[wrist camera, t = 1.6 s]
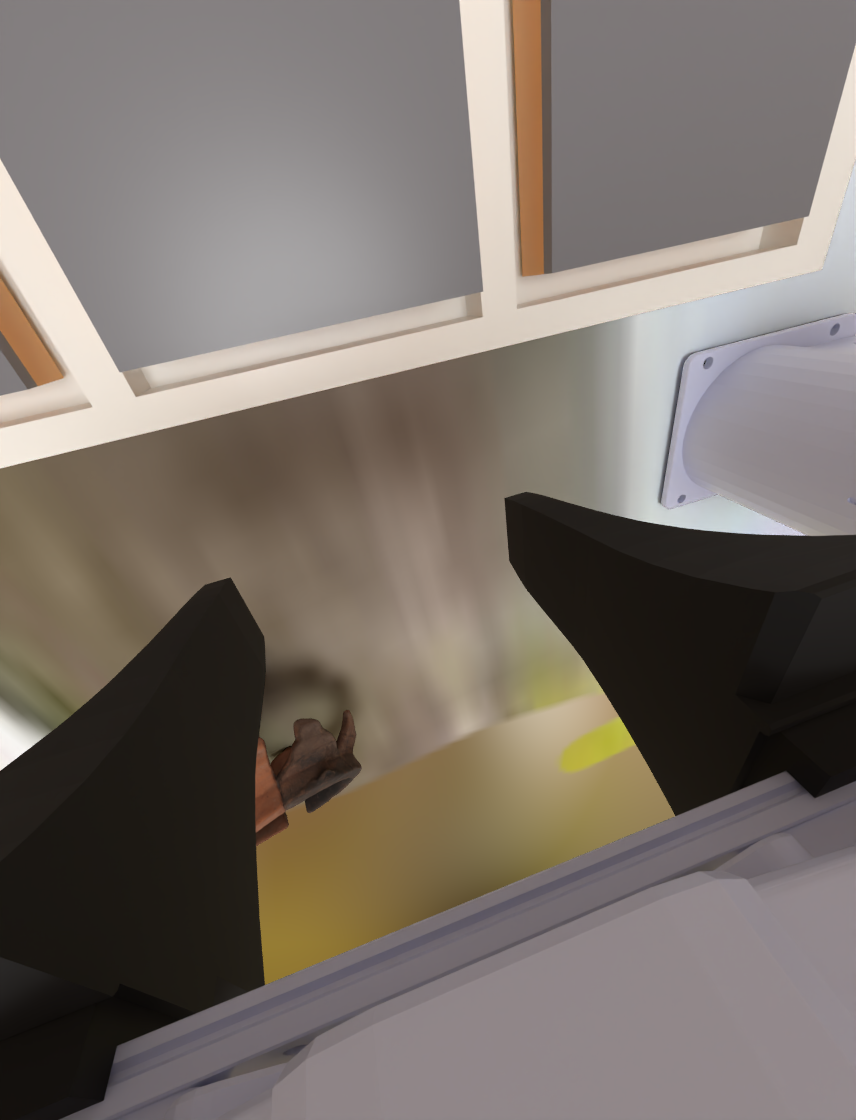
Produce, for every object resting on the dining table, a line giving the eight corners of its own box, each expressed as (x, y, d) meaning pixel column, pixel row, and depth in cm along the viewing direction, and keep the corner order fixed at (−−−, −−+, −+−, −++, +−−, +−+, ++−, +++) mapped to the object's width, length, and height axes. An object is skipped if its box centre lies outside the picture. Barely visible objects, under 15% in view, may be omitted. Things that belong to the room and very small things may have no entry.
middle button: (413, -122, 8) (440, -225, 7) (459, 292, 12) (483, 291, 11) (-81, -75, 7) (-190, -184, 6) (145, 362, 11) (119, 372, 10)
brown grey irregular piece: (293, 603, 21) (368, 751, 18) (325, 659, 29) (381, 769, 26) (27, 735, 18) (56, 956, 14) (148, 758, 26) (186, 902, 22)
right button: (826, -114, 11) (918, -186, 9) (753, 225, 15) (808, 216, 13) (509, -79, 10) (551, -155, 8) (522, 276, 14) (552, 273, 12)
